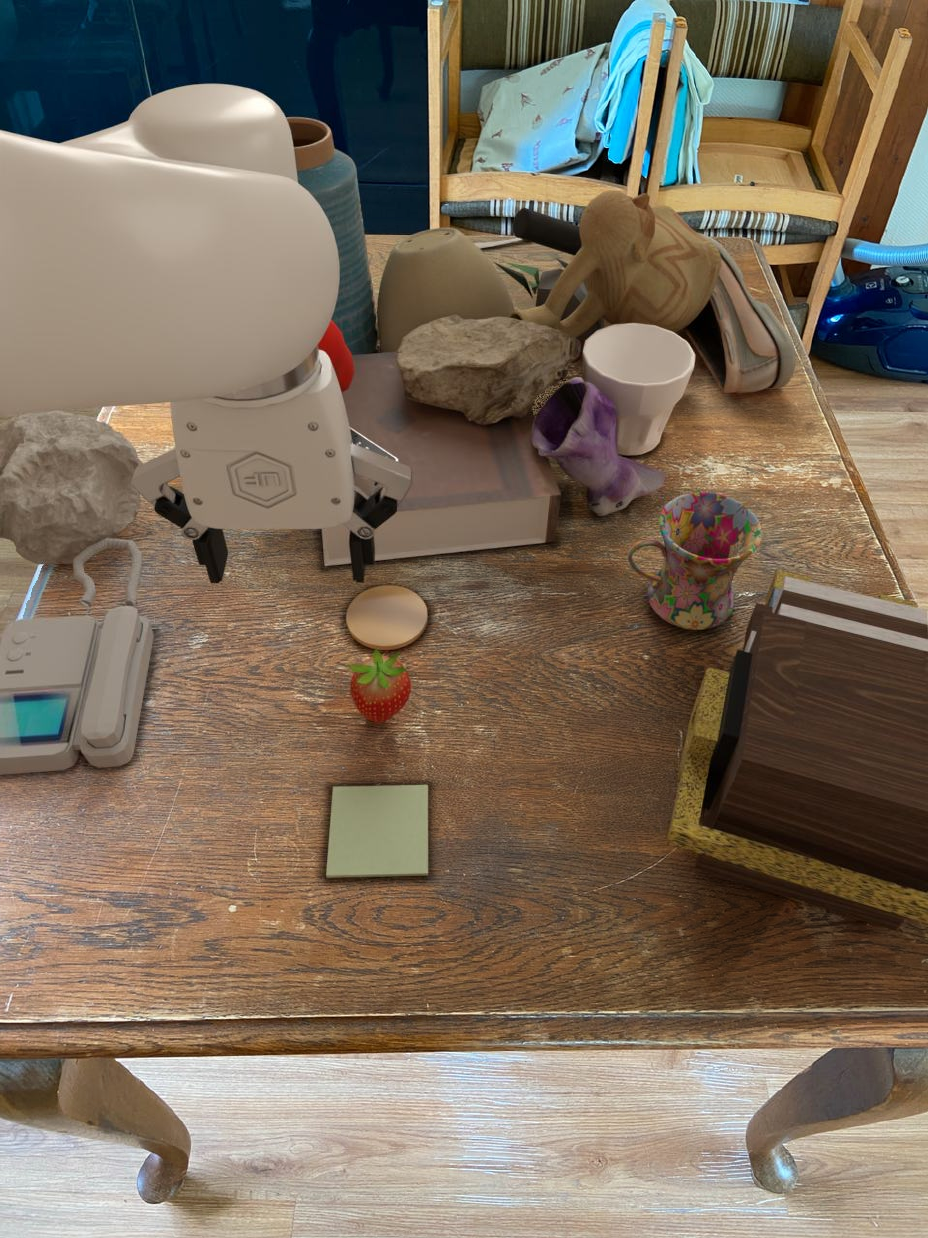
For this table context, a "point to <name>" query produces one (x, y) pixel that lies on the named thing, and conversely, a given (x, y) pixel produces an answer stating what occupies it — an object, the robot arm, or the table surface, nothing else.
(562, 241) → the flashlight
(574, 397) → the figurine
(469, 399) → the rock
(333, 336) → the tomato
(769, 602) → the brown wooden box
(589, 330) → the succulent plant
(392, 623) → the coaster
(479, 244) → the knife
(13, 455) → the stone
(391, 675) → the fruit
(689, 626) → the mug
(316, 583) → the table surface
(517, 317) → the ceramic vessel
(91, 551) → the intercom
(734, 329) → the loafer
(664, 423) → the cup
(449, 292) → the flower pot
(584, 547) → the table surface
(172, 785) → the table surface
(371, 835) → the napkin
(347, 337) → the vase
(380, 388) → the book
